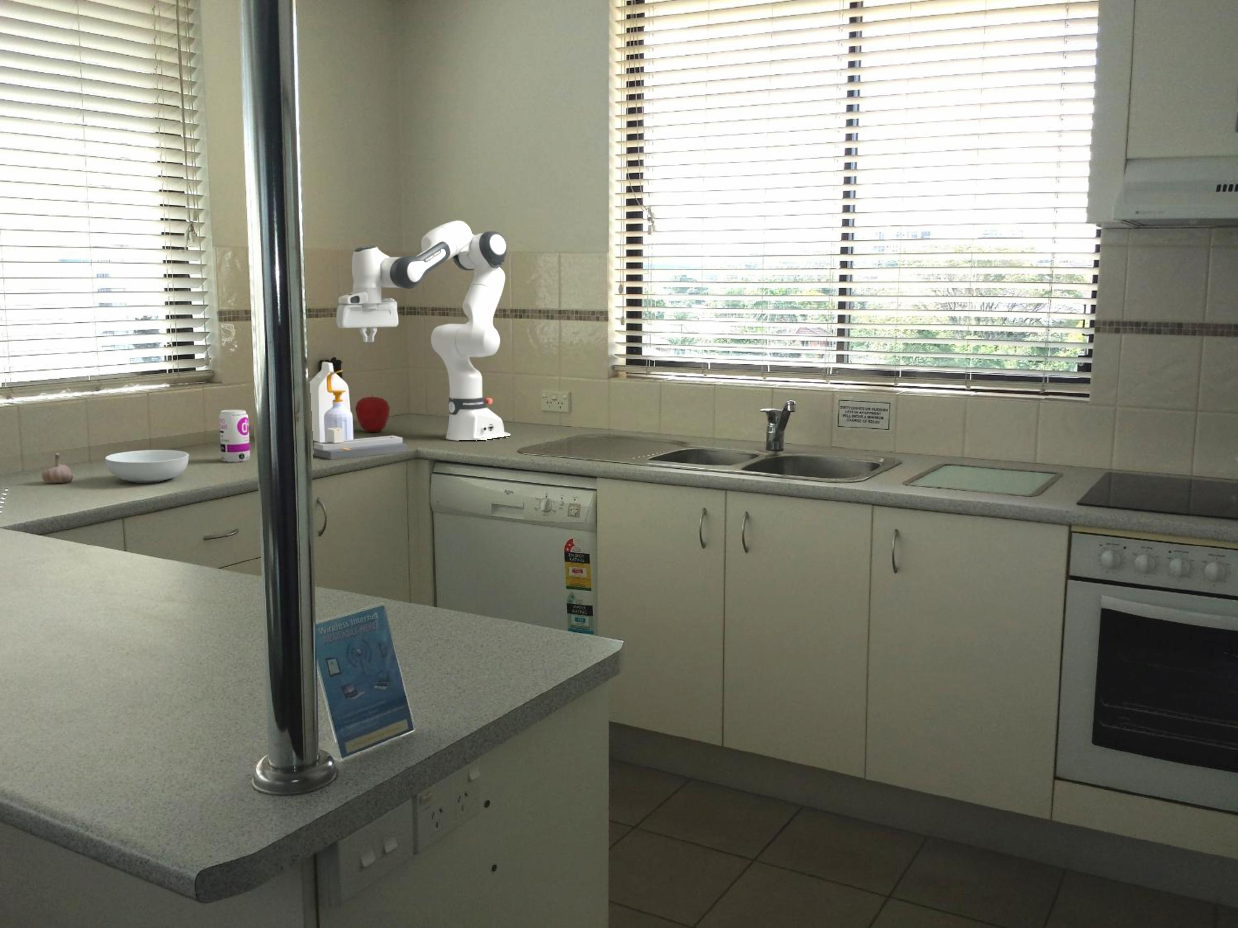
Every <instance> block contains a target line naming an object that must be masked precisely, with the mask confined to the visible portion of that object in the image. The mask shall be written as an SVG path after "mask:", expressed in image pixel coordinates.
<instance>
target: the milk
mask: <svg viewBox="0 0 1238 928" xmlns="http://www.w3.org/2000/svg"><path fill="white" fill-rule="evenodd" d="M334 372H335V371H334V365H333V362H328V361H322V363H321V369H320V371H319V372H318V373H316V375H315V376H314V377H313V378H312V379H311V380H310V381H309V383H310V393H311V411H312V431H313V440H312V441H313V442H316V443H320V442H325V430H324V415H325V413H326V412H327V411H328V410H329V409H331V408H332V407H333V400H335V395H333V393H329V392H328V391H327V376H328V375H329V374H331V373H334ZM331 387H332V390H340V391H346V392H344V393H342V395H340V399H341V400H343V407H344V408H346V409H348V410H349V411H350V412H351V403H350V401H351V400H350V389H349V386H348V383H347V382H346V381H345V380H344V379H342V377H340V376H339V375H338V374H337V373H335V374H333V375H332V376H331Z"/></svg>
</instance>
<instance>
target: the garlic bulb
mask: <svg viewBox="0 0 1238 928" xmlns="http://www.w3.org/2000/svg"><path fill="white" fill-rule="evenodd" d="M60 456H61V455H60V454H59V453H55V458H54V459H55V461H54V462H55V464H54V465H53V466H51V467H49V468H47V469H45V470H44V471H43V473H42V476H41V478H42V480H43V481H44V483H46V484H61V483H62V484H63V483H64V484H68V483H71V482H72V481H73V479H74V478H73V477H74V475H73V472H72V469H71V468H70V467H69V466H68V465H66V464H61V459H60V458H61V457H60Z"/></svg>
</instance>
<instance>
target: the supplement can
mask: <svg viewBox="0 0 1238 928" xmlns="http://www.w3.org/2000/svg"><path fill="white" fill-rule="evenodd" d="M218 422H219V439H220V459H221V460H222V461H223V462H224V461H227V462H226V463H231V462H234V463H240V462H239V461H245V462H247V460H248V461H249V460H250V458H251V450H250V447H251V446H250V430H249V415H248V413H247V412H246V410H245V409H225V410H224V409H223V410H220V414H219V416H218Z"/></svg>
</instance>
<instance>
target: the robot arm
mask: <svg viewBox="0 0 1238 928" xmlns="http://www.w3.org/2000/svg"><path fill="white" fill-rule="evenodd" d="M472 232H473V231H472V230H471V228H470V226H469V225H468V224H467V223H466V222H465V221H463V220H454V221H449V222H446V223H443V224H440V225H438V226H437V227H434V228H432V229H431V230H429V231H428V232H427V233H426V234H425V235H423V236H422V239H421V242H420V243H421V244H420V246H421V251H422V252H420V253H419V254H417V255H416V256H411V255H409V256H406V255H405V256H389V255H387V254H385V253H383V252H382V251H381V250H380V249H379V248H378V246H375V245H367V246H365V245H364V246H359V247H357V248H355V249H354V251H353V253H352V260H351V272H352V273H351V274H352V275H351V276H352V278H353V285H352V292H350V293H347V294H344V295H341V296H339V297H338V299H337V301H338V304H339V305H338V306H337V308H336V315H335V317H336V325H337V327H338V328H339V329H355V328H356V329H359V332H360V334H361V336H362V341H363V343H374V342H375V335H376V333H377V332H378V328H396V327H398V325H399V314H398V301H396V300H395V299H393V298H392V297H382V288H391V289H392V288H396V289H397V288H399V289H407V290H410V289H415V288H417V286H418V285H420V283H421V282H422V280H423V279H424V277H425V276H427V274H429V273H430V272H431V271H432V270H434V269H436V268H437V267H439V266H441V265H442V264H443V263H444V262H446V261H448V260H450V259H451V258H452V260H453V262H454V264H455V265H456V266H457V268H458V269H460V270H463V271H474V276H473V280H472V282H471V283H470V285H469V289H468V291H467V292H466V295H465V298H464V300H463V302H462V310H463V313H464V314H465V316H466V317H467V318H468V321H467V322H466V323H446V324H441V325H438V326H436V327H435V328H434V329H433V330H432V333H431V337H430V343H431V346H432V348H433V350H434V351H435V352H436V353H437V355H439V356H440V358H441V359H442V361H443V362H444V363H443V364H444V365H445V367H446V371H447V374H448V382H449V385H448V386H449V397H448V413H449V417H448V418H449V419H448V428H447V432H446V436H445V439H446V440H449V441H450V440H451V441H459V440H476V441H475V442H478V441H477V440H486V441H488V440H487V439H492V438H497V437H504V436H510V435H511V433H509V432H507V431H505V425H504V422H503V420H502V418H501V417H500V416H499V415H497V413H494V412H493V411H492V410H490V409H489V407H488V405H492V404H493V403H494V400H492V398H491V397H488V398H485V397H484V396H483V376H482V374H481V371H479V369H477V368H475V367H474V366H473V364H472V362H471V359H470V358H485V357H489V356H490V357H491V356H493V355H495V354H496V353H497V352H498V350H499V348H500V344H501V337H500V335H499V331H498V330H497V329H496V328H495V326H494V315H495V312H496V311H497V307H498V305H499V302H500V299H501V297H502V295H503V290H504V287H505V282H506V274H505V271H504V270H503V269H502V268H501V267H502V266H503V265H504V264H505V262H506V259H505V258H506V256H507V251H508V245H507V241H506V239H505V237H504V235H502V233H500V232H497V231H495V230H490V231H489V230H488V231H485V232H481V233H477V234H473V233H472ZM367 328H369V331H371V332H370V334H369V335H367V331H368V330H367Z"/></svg>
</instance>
